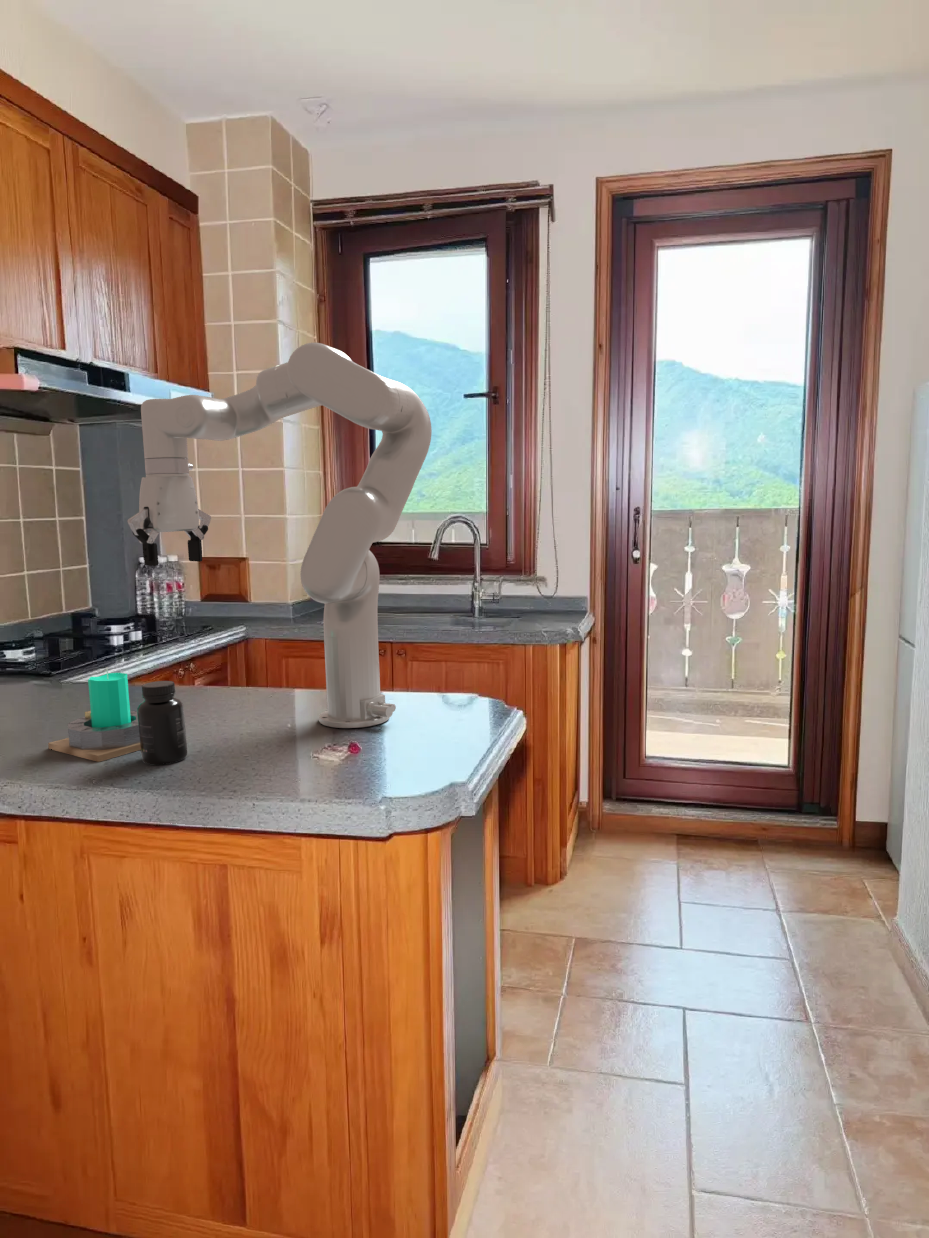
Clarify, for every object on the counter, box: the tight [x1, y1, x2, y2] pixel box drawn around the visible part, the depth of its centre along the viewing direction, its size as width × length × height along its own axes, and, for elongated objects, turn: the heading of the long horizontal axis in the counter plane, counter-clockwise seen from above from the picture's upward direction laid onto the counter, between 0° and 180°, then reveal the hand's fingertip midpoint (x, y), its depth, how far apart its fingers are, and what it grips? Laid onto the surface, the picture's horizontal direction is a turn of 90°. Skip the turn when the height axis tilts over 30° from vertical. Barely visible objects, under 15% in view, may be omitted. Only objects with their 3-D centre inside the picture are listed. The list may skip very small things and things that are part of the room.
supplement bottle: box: [136, 680, 188, 766], centre depth 136 cm, size 7×7×12 cm
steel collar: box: [67, 710, 140, 750], centre depth 145 cm, size 13×13×4 cm
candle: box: [87, 666, 131, 727], centre depth 144 cm, size 6×6×12 cm
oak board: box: [47, 737, 141, 763], centre depth 145 cm, size 14×14×1 cm
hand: (174, 563), depth 161 cm, fingers open, 9 cm apart
